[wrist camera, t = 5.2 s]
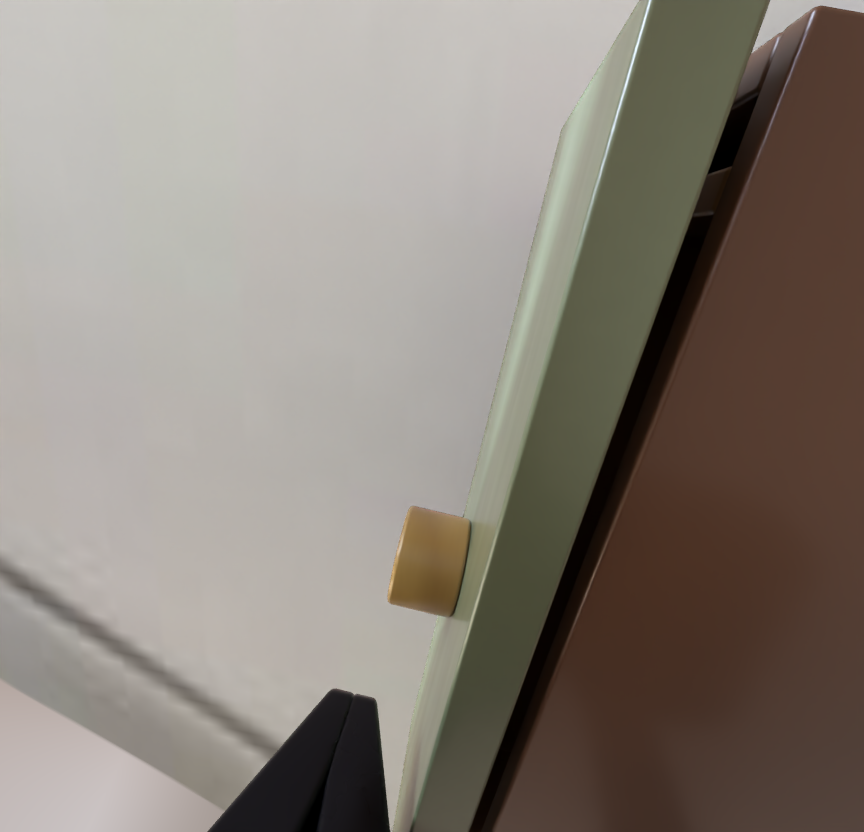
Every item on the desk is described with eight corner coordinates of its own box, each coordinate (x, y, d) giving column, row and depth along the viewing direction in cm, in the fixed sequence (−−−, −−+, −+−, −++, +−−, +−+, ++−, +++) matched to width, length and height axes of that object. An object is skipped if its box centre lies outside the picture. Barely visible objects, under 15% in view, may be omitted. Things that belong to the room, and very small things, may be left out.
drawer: (1250, 260, 7) (2482, 285, 3) (810, 822, 11) (993, 1153, 7) (496, 114, 7) (501, -65, 3) (372, 710, 12) (308, 960, 8)
